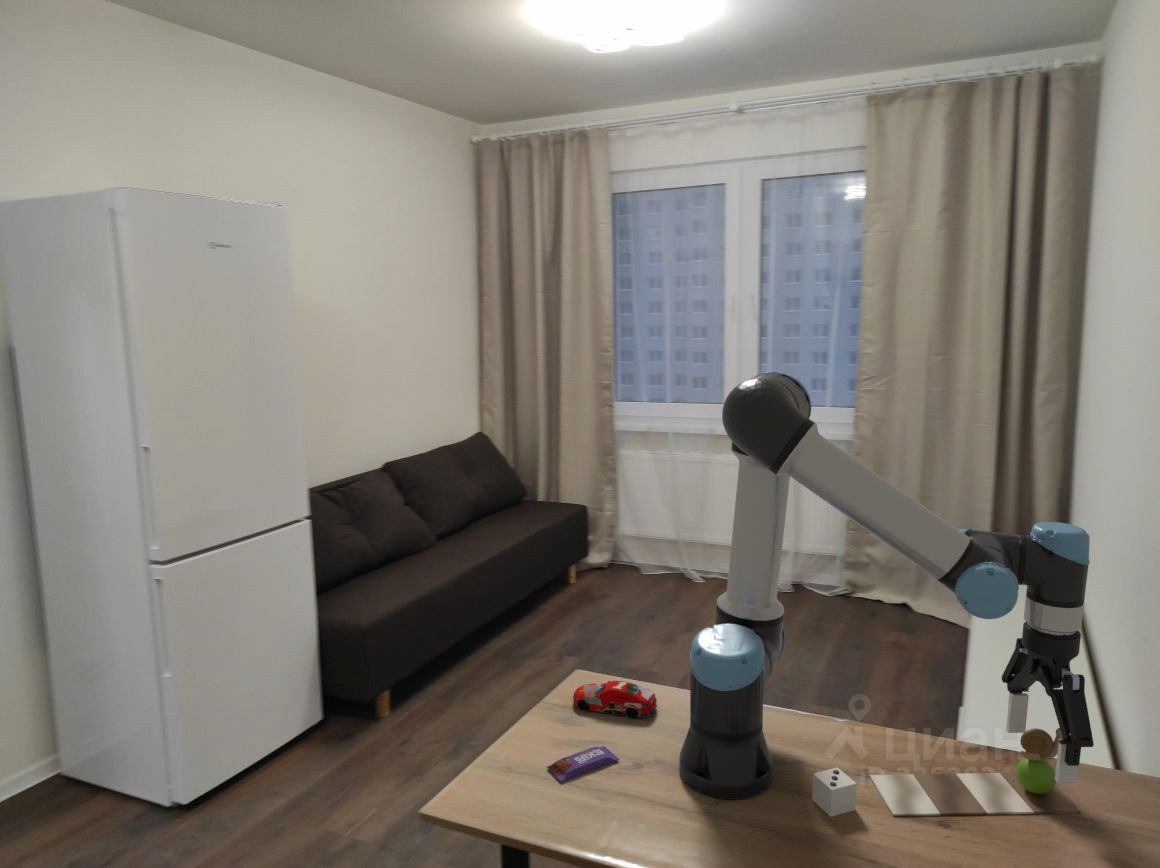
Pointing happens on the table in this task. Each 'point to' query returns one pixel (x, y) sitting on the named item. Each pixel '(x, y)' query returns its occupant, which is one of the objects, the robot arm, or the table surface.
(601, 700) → the race car
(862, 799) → the table surface
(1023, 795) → the game board
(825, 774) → the die
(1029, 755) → the snail figurine
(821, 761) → the table surface
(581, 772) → the snack package
